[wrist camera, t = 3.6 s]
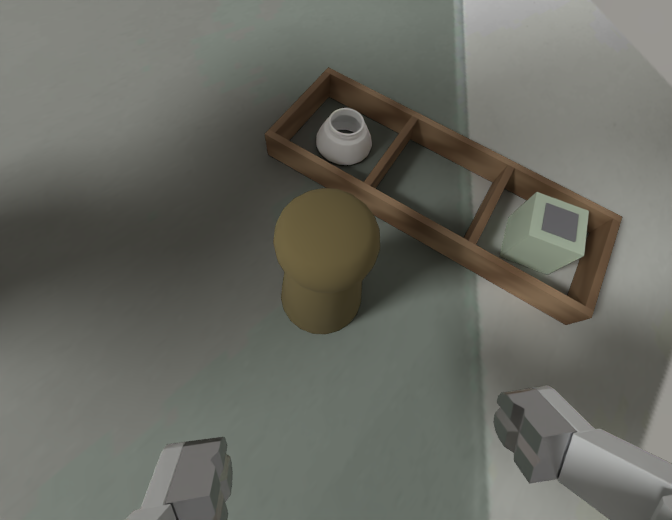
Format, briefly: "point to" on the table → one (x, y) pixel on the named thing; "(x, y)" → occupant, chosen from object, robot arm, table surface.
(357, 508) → the table surface
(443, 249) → the organiser
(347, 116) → the lidless jar
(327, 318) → the cork
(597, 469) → the robot arm
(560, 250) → the cube with grey panel
